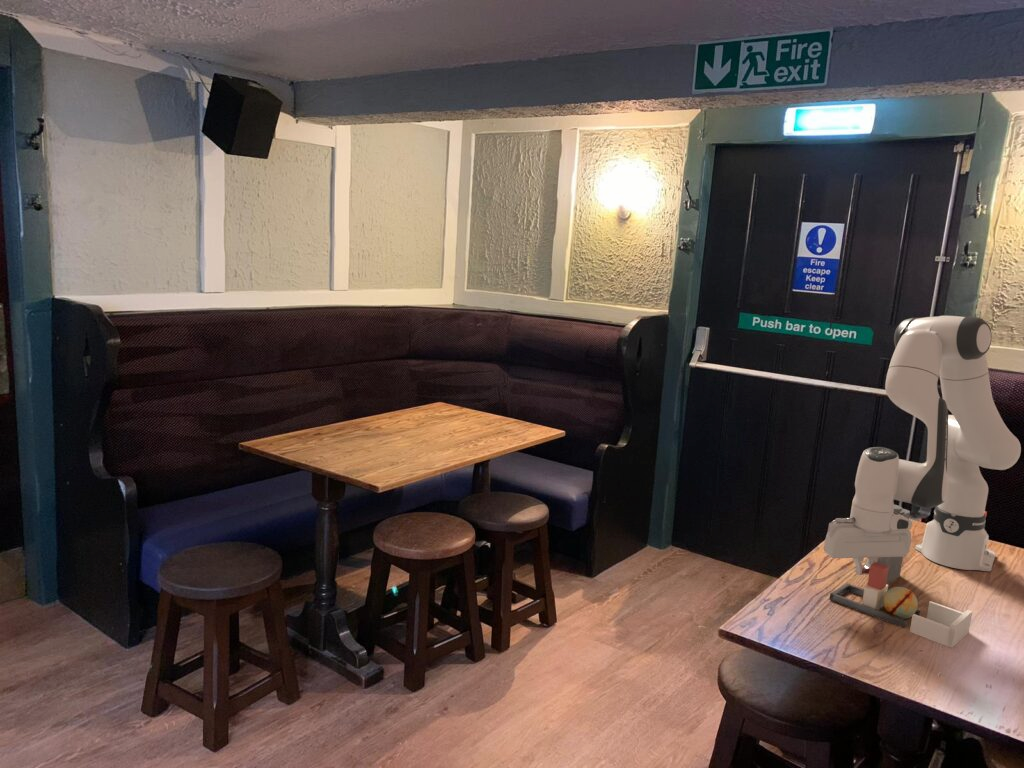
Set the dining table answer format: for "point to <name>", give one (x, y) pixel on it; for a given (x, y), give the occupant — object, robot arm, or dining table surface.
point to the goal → (942, 624)
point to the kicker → (876, 586)
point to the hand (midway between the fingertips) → (862, 573)
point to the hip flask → (894, 562)
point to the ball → (900, 602)
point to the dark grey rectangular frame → (863, 608)
